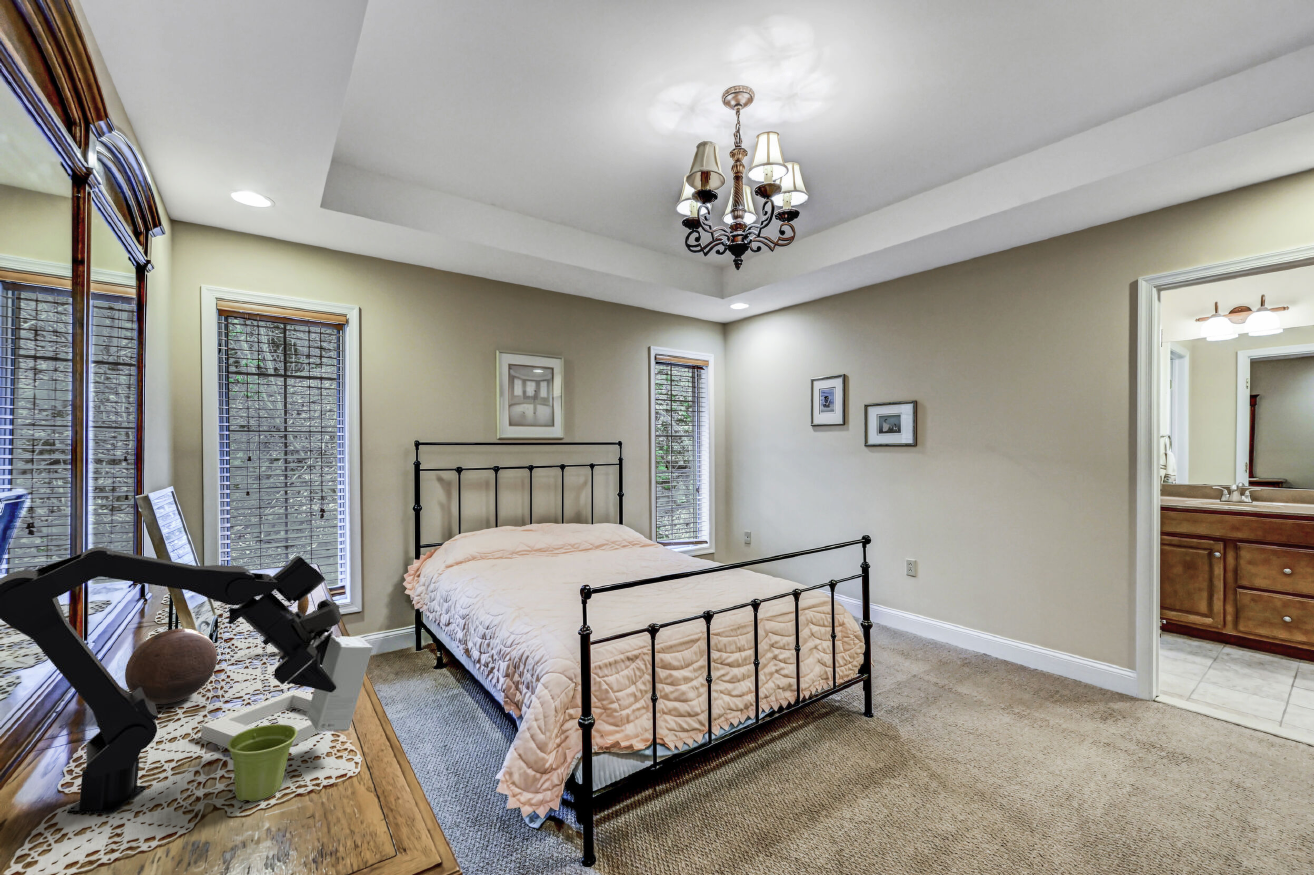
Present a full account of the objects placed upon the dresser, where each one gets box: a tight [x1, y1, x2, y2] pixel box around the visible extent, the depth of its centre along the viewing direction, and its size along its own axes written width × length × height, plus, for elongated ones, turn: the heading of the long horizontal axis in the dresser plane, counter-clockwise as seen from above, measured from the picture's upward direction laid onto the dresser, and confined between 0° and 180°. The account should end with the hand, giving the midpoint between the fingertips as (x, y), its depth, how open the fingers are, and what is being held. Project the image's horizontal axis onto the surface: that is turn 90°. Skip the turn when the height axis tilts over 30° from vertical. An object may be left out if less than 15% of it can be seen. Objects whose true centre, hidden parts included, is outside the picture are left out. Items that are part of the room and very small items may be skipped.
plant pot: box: [227, 723, 297, 802], centre depth 93 cm, size 9×9×9 cm
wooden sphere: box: [124, 628, 218, 705], centre depth 122 cm, size 15×15×15 cm
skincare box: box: [306, 635, 374, 732], centre depth 107 cm, size 8×6×15 cm
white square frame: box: [200, 689, 322, 749], centre depth 113 cm, size 18×17×2 cm
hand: (338, 680), depth 106 cm, fingers closed on skincare box, 9 cm apart
